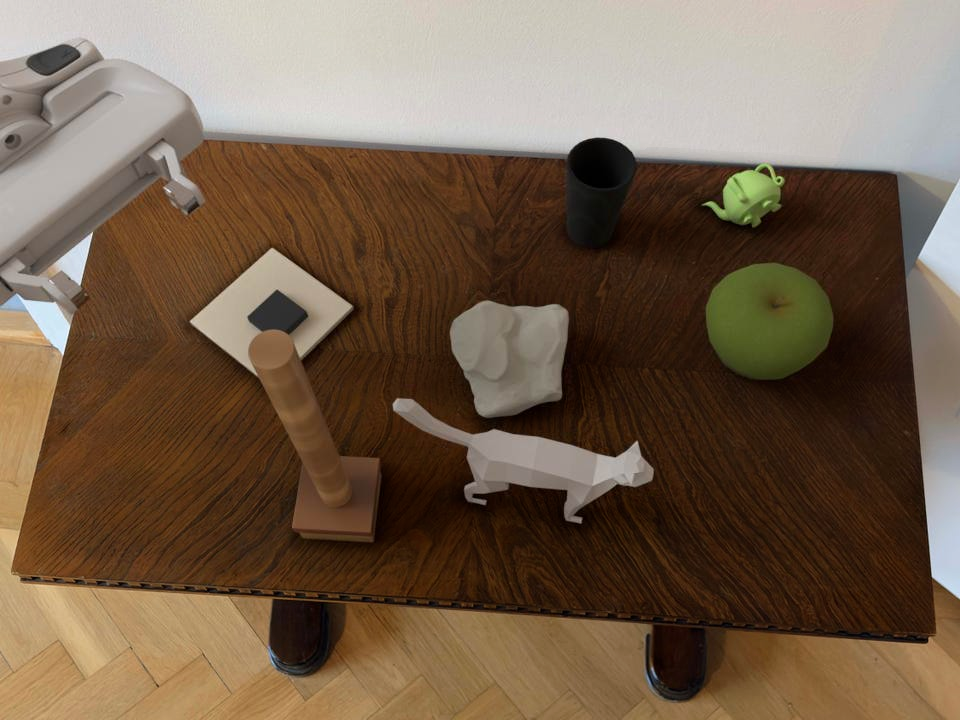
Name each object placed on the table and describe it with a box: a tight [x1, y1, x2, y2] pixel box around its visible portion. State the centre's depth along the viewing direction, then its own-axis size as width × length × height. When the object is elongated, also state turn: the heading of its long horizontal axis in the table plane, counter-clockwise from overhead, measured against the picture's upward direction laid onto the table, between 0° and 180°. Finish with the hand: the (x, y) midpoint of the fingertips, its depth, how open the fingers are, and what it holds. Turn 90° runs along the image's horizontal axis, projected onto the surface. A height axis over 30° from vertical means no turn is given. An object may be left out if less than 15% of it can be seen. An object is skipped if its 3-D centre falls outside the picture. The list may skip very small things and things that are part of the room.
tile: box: [189, 247, 354, 379], centre depth 81 cm, size 11×11×1 cm
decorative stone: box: [449, 300, 570, 419], centre depth 76 cm, size 11×9×10 cm
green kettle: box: [701, 163, 786, 228], centre depth 84 cm, size 6×5×6 cm
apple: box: [705, 262, 834, 381], centre depth 75 cm, size 11×10×10 cm
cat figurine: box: [392, 397, 655, 524], centre depth 67 cm, size 4×20×14 cm, turn 78°
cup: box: [566, 136, 638, 249], centre depth 82 cm, size 6×6×10 cm
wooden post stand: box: [248, 330, 382, 543], centre depth 60 cm, size 6×6×28 cm
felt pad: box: [247, 290, 308, 335], centre depth 80 cm, size 4×4×1 cm
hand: (137, 250), depth 52 cm, fingers open, 8 cm apart
